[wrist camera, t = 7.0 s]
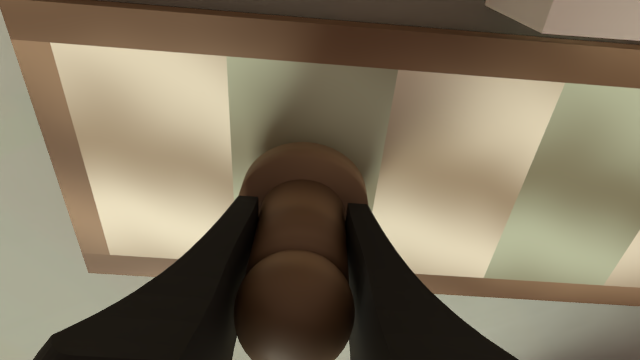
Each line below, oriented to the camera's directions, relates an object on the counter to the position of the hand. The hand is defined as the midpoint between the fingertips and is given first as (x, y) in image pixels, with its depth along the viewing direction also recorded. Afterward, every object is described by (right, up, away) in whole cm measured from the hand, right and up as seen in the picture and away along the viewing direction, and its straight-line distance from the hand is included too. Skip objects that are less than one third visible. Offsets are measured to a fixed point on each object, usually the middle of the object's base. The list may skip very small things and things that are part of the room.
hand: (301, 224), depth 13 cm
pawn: (0, +1, +1) cm, 1 cm away
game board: (+5, +1, +3) cm, 6 cm away
